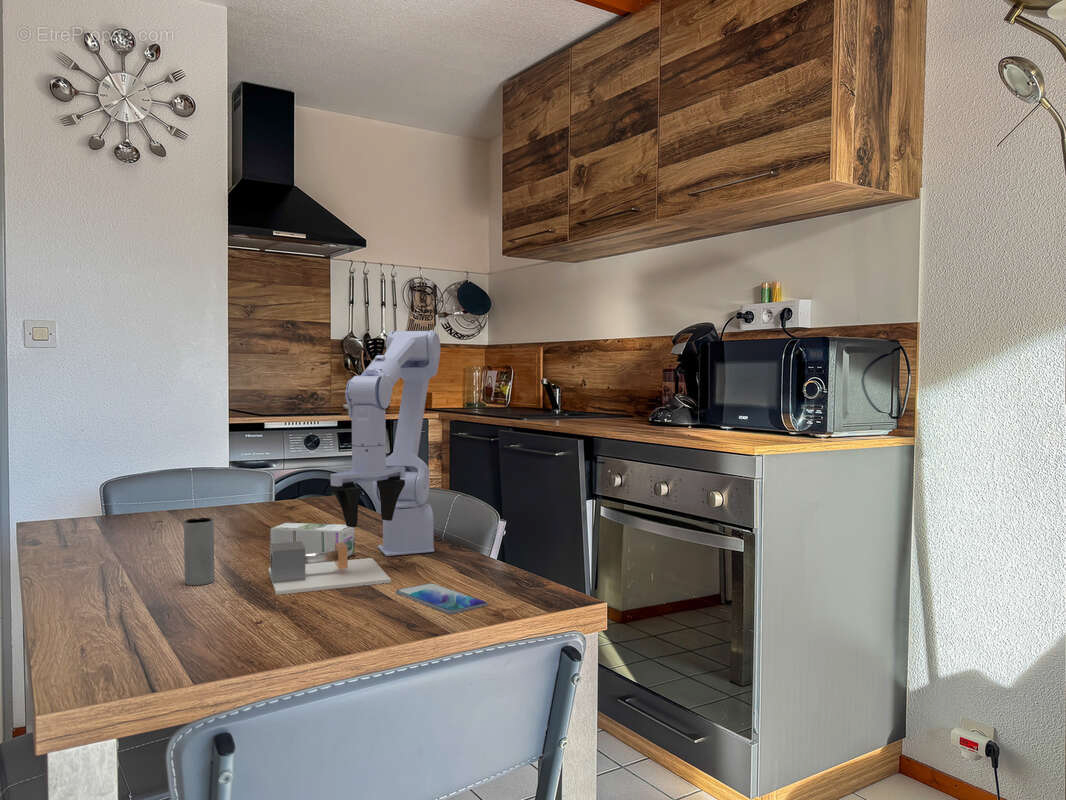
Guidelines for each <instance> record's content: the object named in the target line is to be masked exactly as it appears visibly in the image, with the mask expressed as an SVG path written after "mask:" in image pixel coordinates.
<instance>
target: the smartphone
mask: <svg viewBox="0 0 1066 800" xmlns="http://www.w3.org/2000/svg"><path fill="white" fill-rule="evenodd" d="M395 594H396V595H397V594H399V595H398V596H400V595H402V596H405V597H407V598H406V599H408V598H409V599H408V600H410V599H412V600H411V601H413V600H414V601H413V602H415V601H416V602H415V603H418V602H419V604H420V603H421V605H423V604H424V605H423V606H427V607H428V608H431V609H434V610H436V611H439V612H441V611H442V612H441V613H444V612H445V613H444V614H446V613H447V615H457V614H460V613H459V612H461V613H465V612H469V611H472V609H473V610H476V609H480V608H484V607H487V606H488V602H487V601H485V600H483V599H482V600H481V599H480V598H477V597H474V596H471V595H467V594H465V593H461V592H459V591H456V590H453V589H451V588H447V587H445V586H442V585H439V584H436V583H431V582H430V583H424V584H418V585H414V586H413V585H412V586H409V587H403V588H399V589H396V590H395ZM402 596H401V597H402ZM405 597H404V598H405ZM464 611H465V612H464ZM456 613H457V614H456Z"/></svg>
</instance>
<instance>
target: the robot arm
mask: <svg viewBox="0 0 1066 800" xmlns="http://www.w3.org/2000/svg"><path fill="white" fill-rule="evenodd" d="M440 356H441V340H440V336H439V334H438V333H437V331H436V330H435V329H431V330H398V331H397V330H391V331H389V333H388V335H387V337H386V341H385V352H384V354H378V355H376V356H375V357H374V359H373V360H372V361H371V362H370V363H369V365H368V366H367V367H366V369H365V370H364V371H363V372H362V373H361V374H360V375H354V376H353V377H352V378H350V379H349V380H348V381H347V384H346V387H345V392H344V393H345V394H344V395H345V396H344V397H345V401H346V405H347V408H348V409H347V411H348V417H349V419H351V453H352V454H351V458H352V459H351V469H350V470H346V471H343V472H337V473H331V474H330V486H331V491H332V493H333V494H334V495H335V497H336V499H337V501H338V503H339V506H340V508H341V511H342V514H343V517H344V518H343V519H344V521H345V525H346V526H348V527H353V528H354V529H355V528H358V520H359V518H358V515H359V514H358V513H359V512H358V511H359V509H358V508H359V502H360V496H361V493H362V487H358V486H357V487H356V484H360V483H362V484H363V483H370V482H372V494H373V497H374V499H375V501H376V503H379V507H380V517H381V520H382V544H381V545H380V544H378V545H377V548H378V549H379V551H380V552H381V553H382V554H384V556H386V557H392V556H400V555H401V556H402V555H404V556H405V555H412V554H423V553H426V554H427V553H434V552H435V549H434V514H433V509H432V506H431V505H430V504H429V503H426V501H427V500H428V498H429V494H430V488H431V487H430V486H431V485H430V469H429V466H428V464H427V463H426V462H425V461H424V460H423V459H421V458H420V457H419V449H420V442H421V435H422V429H423V423H424V414H425V407H426V401H427V393H428V387H429V383H430V379H432V378H433V377H434V376H436V375H437V374H438V369H439V365H440ZM400 378H401V380H403V386H402V393H401V398H400V399H401V401H400V405H399V413H398V419H397V426H396V429H395V437H394V444H393V450H392V451H393V452H392V453H391V454H390V455H388V456H387V450H386V449H387V445H386V444H387V442H386V441H387V440H386V438H387V436H386V435H387V434H386V429H387V428H386V425H387V424H386V419H387V418H386V409H387V408H388V407H389V406H390V404H391V399H392V394H393V390H394V389H393V387H394V386H395V385H396V383H397V382H398V381H399V379H400Z"/></svg>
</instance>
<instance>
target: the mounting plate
mask: <svg viewBox="0 0 1066 800" xmlns="http://www.w3.org/2000/svg"><path fill="white" fill-rule="evenodd" d="M268 574H269V577H270V580H271V584H272V586H273V587H272V588H273V590H274V593H275V596H279V595H281V596H282V595H288V594H297V593H308V592H309V593H310V592H316V591H317V592H318V591H325V590H336V589H337V590H338V589H346V588H353V587H355V588H356V587H363V586H364V585H365V586H373V585H374V584H375V585H382V584H383V583H384V584H391V583H392V578H391V577H389V575H388V574H387V573H386V572H385V571H384V570H383V568H382V567H381V566H380V565H379V564H378V563H377V562H376V561H375V560H374V558H372V557H367V558H359V559H358V558H357V559H348V568H346V569H338V567H337V566H336V565H335V562H325V563H314V564H305V580H300V581H291V582H281V583H273V580H272V577H271V566H270V567H268Z"/></svg>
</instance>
